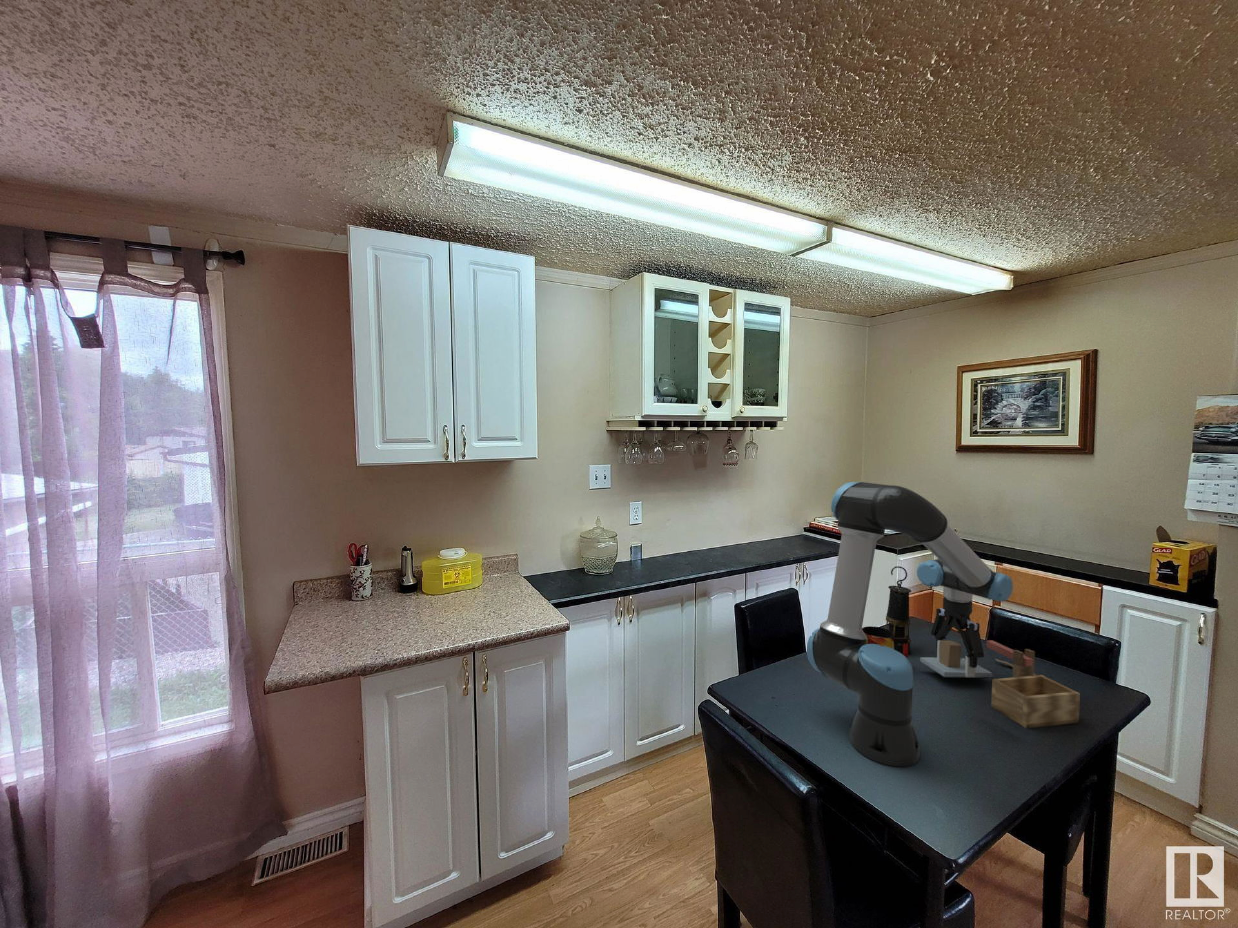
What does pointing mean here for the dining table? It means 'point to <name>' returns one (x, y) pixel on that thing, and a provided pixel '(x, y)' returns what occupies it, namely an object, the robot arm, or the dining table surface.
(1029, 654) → the post
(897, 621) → the lantern
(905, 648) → the mug
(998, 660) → the jawbone
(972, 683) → the dining table surface
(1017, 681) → the open wooden box
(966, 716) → the dining table surface
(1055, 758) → the dining table surface
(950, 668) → the lid
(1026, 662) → the bar
